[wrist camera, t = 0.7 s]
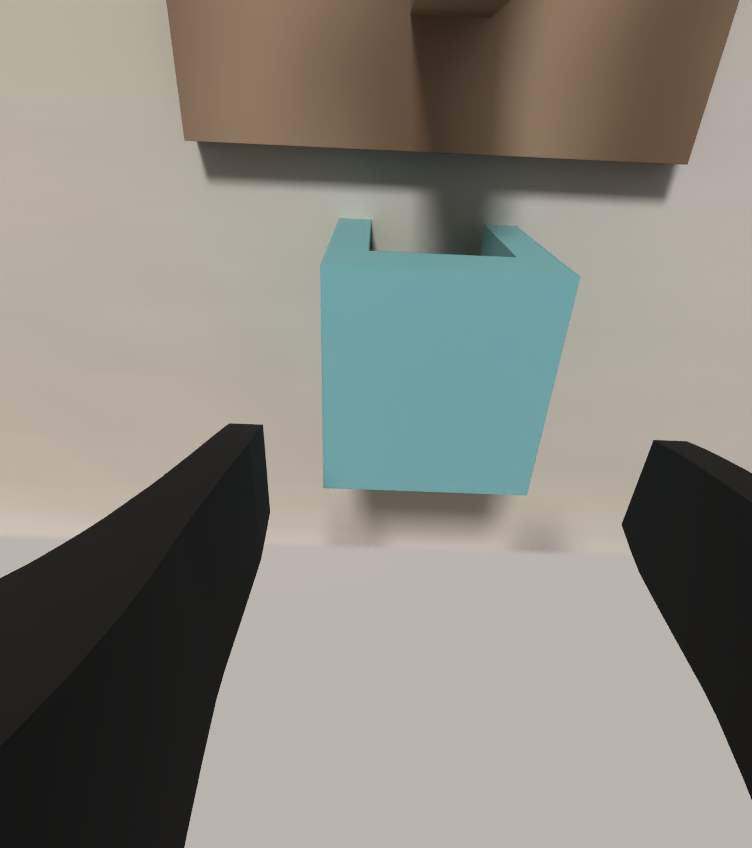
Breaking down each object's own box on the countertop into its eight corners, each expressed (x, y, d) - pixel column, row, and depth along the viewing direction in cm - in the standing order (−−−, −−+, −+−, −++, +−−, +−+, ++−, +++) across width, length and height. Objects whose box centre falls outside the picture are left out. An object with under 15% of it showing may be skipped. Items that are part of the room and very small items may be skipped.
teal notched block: (516, 226, 16) (580, 276, 11) (487, 394, 19) (526, 495, 14) (339, 218, 16) (320, 265, 11) (338, 388, 19) (323, 487, 14)
